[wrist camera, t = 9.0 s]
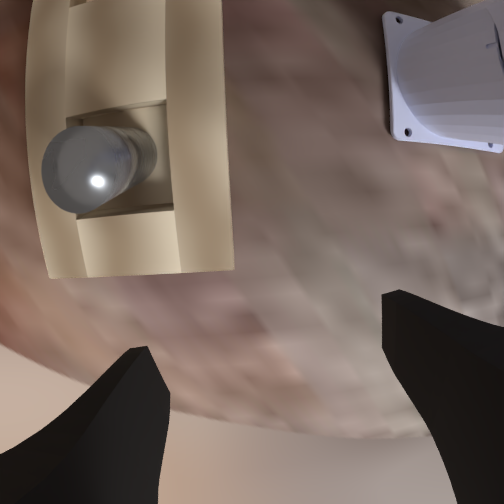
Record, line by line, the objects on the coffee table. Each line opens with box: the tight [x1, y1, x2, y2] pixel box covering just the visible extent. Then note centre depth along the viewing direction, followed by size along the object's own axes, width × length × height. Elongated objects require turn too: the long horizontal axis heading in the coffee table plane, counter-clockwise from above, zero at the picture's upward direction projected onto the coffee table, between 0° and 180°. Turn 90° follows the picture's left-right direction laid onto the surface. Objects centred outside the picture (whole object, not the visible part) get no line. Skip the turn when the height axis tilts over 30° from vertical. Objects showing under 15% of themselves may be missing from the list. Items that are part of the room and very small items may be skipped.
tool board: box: [25, 0, 234, 279], centre depth 13 cm, size 10×22×3 cm, turn 2°
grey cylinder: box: [41, 126, 157, 214], centre depth 12 cm, size 3×3×6 cm
